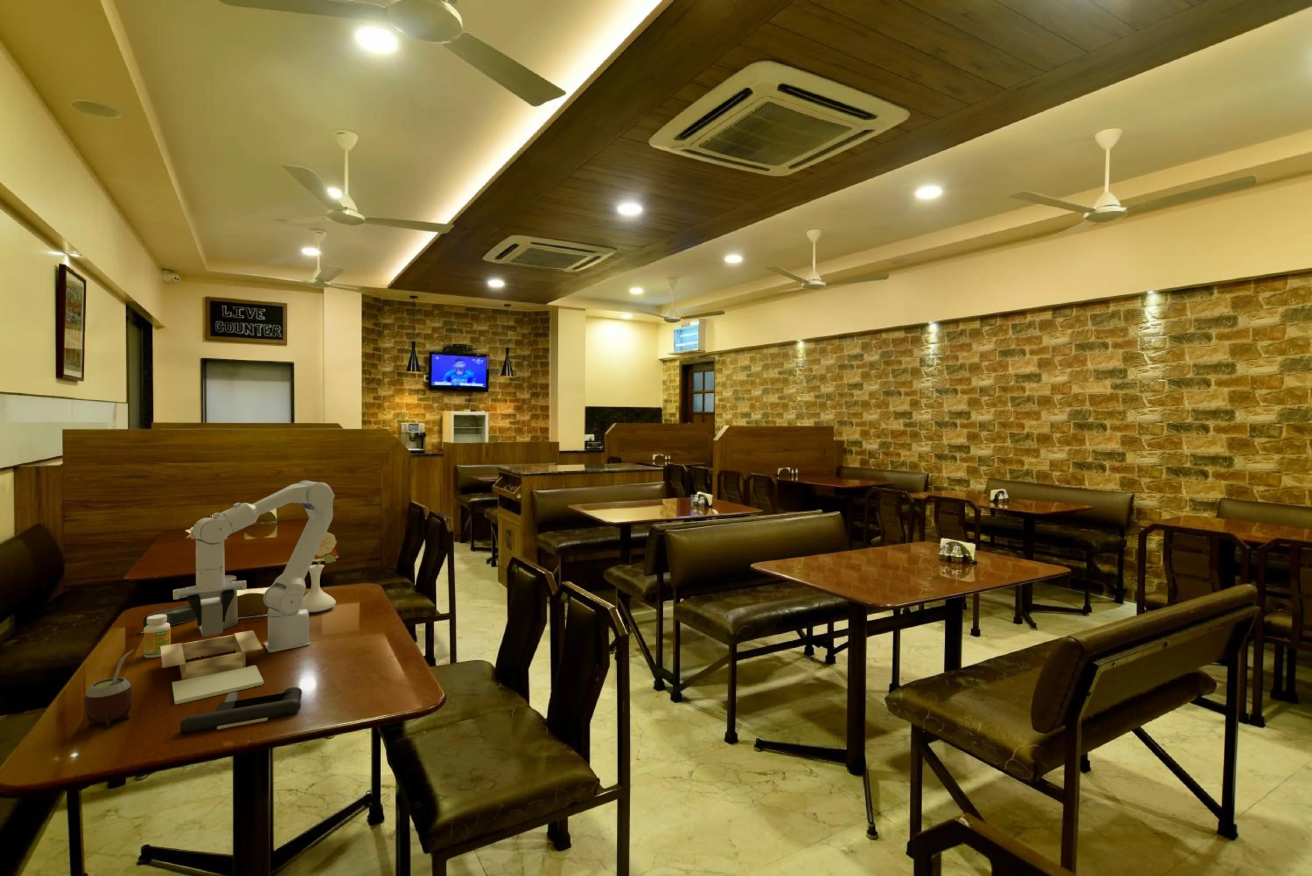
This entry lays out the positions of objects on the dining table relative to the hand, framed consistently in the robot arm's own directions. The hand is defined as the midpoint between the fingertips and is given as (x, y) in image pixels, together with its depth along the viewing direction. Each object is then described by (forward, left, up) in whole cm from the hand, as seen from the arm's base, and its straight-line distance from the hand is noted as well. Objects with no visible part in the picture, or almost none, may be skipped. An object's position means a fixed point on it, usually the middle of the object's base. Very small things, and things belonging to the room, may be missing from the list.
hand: (211, 623), depth 154 cm
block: (0, 0, -2) cm, 2 cm away
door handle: (-3, +33, -11) cm, 35 cm away
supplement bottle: (+10, -17, -10) cm, 22 cm away
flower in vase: (-30, -33, -10) cm, 46 cm away
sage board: (0, +15, -10) cm, 18 cm away
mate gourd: (+18, +23, -10) cm, 31 cm away
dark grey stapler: (+7, -42, -11) cm, 44 cm away
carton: (0, 0, -10) cm, 10 cm away
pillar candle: (-4, -34, -10) cm, 36 cm away
